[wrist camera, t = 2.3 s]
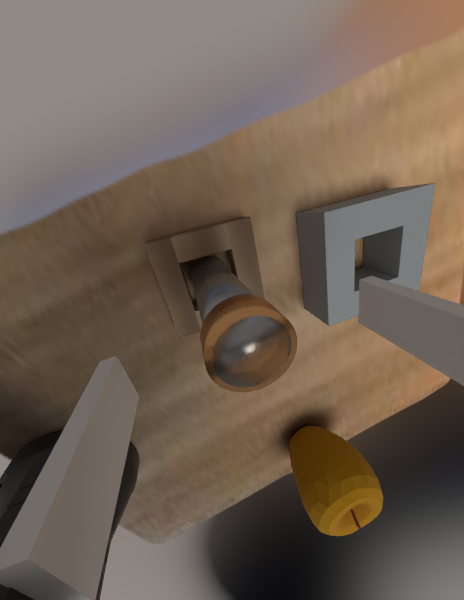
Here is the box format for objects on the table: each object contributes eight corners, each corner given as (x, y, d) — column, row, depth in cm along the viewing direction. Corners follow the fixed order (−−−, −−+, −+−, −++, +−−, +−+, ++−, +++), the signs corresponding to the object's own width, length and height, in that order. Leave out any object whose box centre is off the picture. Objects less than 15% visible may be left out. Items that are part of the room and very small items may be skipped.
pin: (194, 299, 24) (218, 404, 11) (182, 260, 23) (192, 328, 9) (233, 287, 25) (300, 373, 11) (224, 249, 23) (292, 296, 10)
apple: (337, 405, 38) (410, 489, 26) (327, 447, 42) (386, 537, 30) (280, 417, 35) (331, 517, 24) (274, 461, 39) (316, 565, 27)
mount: (179, 326, 25) (179, 337, 23) (146, 241, 21) (143, 244, 19) (258, 301, 26) (266, 309, 24) (242, 216, 22) (250, 217, 20)
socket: (304, 308, 28) (328, 325, 24) (295, 213, 24) (324, 212, 19) (381, 282, 30) (418, 294, 26) (388, 188, 25) (435, 183, 21)
